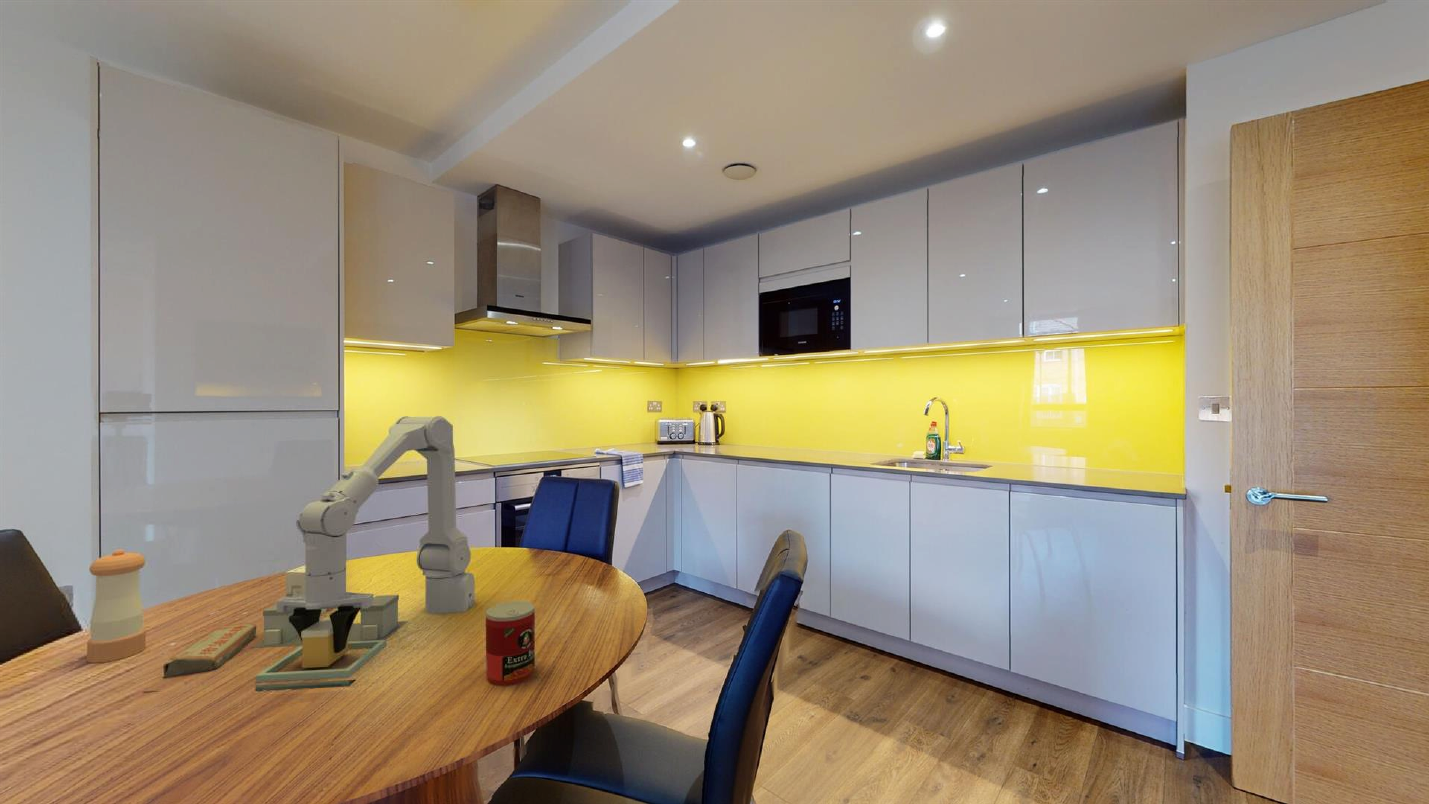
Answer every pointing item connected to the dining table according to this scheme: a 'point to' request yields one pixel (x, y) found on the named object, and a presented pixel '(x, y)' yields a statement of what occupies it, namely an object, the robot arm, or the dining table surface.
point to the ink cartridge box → (297, 584)
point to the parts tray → (273, 675)
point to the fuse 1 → (279, 622)
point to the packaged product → (210, 650)
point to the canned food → (510, 642)
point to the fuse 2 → (381, 614)
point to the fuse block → (368, 634)
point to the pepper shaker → (116, 608)
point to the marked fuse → (319, 645)
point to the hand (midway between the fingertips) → (325, 651)
